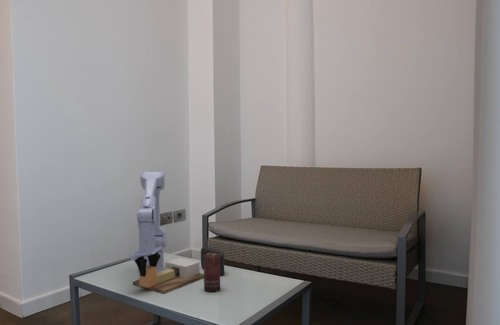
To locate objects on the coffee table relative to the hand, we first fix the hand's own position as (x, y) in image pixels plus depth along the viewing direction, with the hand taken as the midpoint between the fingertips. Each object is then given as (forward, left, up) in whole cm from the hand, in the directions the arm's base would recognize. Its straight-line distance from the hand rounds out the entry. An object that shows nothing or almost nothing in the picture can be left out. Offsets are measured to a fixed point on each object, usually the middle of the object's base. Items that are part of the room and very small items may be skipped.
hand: (147, 274), depth 156 cm
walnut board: (0, +11, -6) cm, 13 cm away
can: (+21, +13, -6) cm, 26 cm away
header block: (0, +18, -4) cm, 19 cm away
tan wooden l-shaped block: (0, +5, -4) cm, 7 cm away
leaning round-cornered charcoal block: (+6, +30, -6) cm, 32 cm away
